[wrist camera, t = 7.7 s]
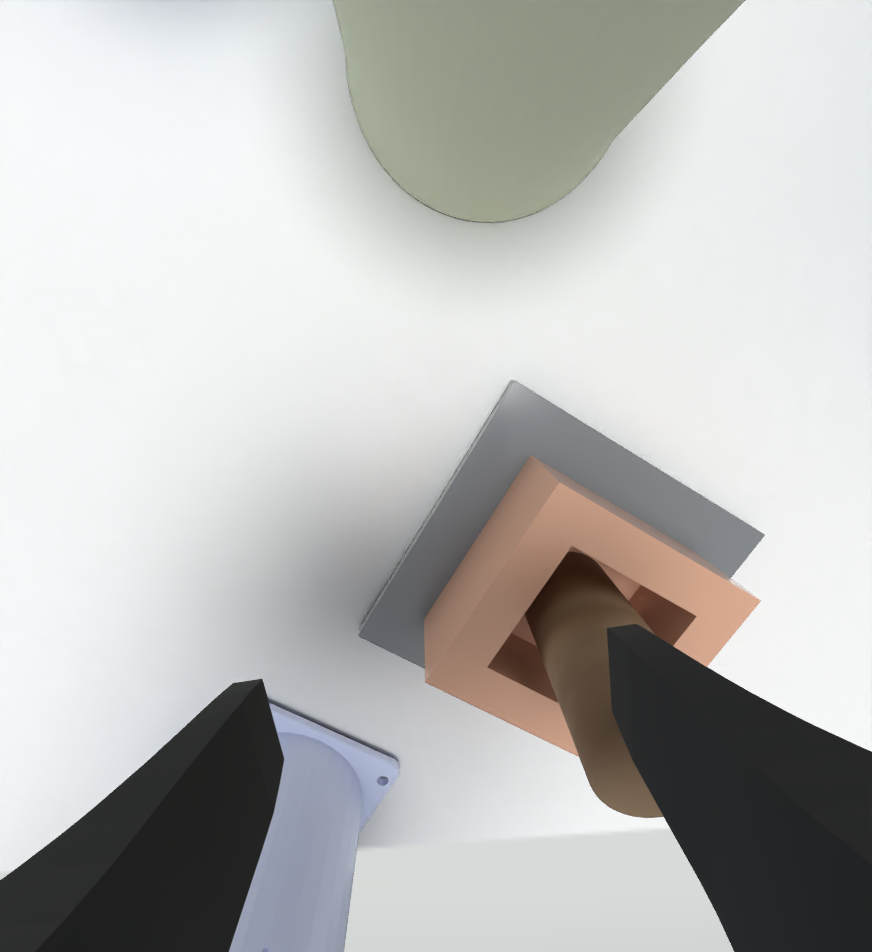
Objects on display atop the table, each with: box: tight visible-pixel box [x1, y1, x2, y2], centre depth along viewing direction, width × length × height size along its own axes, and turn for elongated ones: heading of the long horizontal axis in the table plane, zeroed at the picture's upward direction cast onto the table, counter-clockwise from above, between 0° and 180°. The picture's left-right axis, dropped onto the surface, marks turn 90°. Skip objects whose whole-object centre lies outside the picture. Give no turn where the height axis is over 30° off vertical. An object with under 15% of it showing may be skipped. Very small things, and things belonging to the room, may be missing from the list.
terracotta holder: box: [358, 380, 765, 757], centre depth 18 cm, size 12×12×4 cm
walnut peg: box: [525, 552, 663, 818], centre depth 15 cm, size 4×4×8 cm
